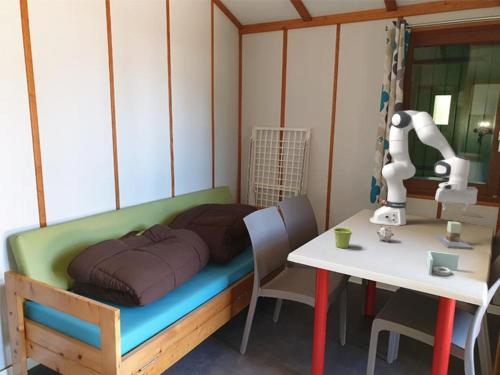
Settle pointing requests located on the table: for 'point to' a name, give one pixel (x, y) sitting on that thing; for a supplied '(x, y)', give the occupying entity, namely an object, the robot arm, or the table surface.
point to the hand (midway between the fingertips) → (453, 210)
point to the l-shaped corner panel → (442, 262)
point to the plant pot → (342, 237)
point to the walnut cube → (453, 237)
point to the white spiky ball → (385, 233)
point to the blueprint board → (453, 243)
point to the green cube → (454, 227)
